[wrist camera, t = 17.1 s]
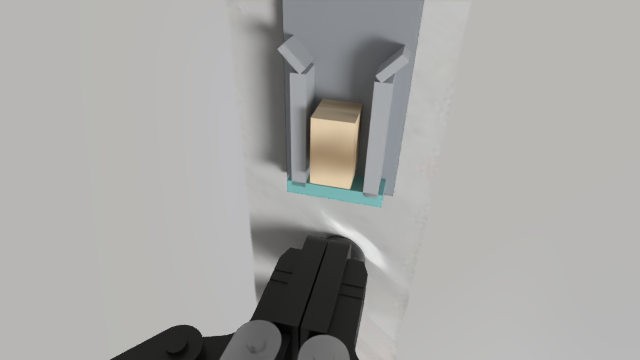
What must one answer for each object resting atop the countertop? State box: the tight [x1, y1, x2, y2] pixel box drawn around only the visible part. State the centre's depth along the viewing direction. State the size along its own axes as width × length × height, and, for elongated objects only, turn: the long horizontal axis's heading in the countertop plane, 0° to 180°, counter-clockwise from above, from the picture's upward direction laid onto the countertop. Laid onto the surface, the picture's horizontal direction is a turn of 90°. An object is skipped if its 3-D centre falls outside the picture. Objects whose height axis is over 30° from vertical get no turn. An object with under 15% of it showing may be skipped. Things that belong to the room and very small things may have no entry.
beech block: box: [310, 99, 363, 189], centre depth 38 cm, size 7×4×4 cm, turn 179°
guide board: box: [277, 0, 424, 207], centre depth 37 cm, size 21×12×4 cm, turn 179°
